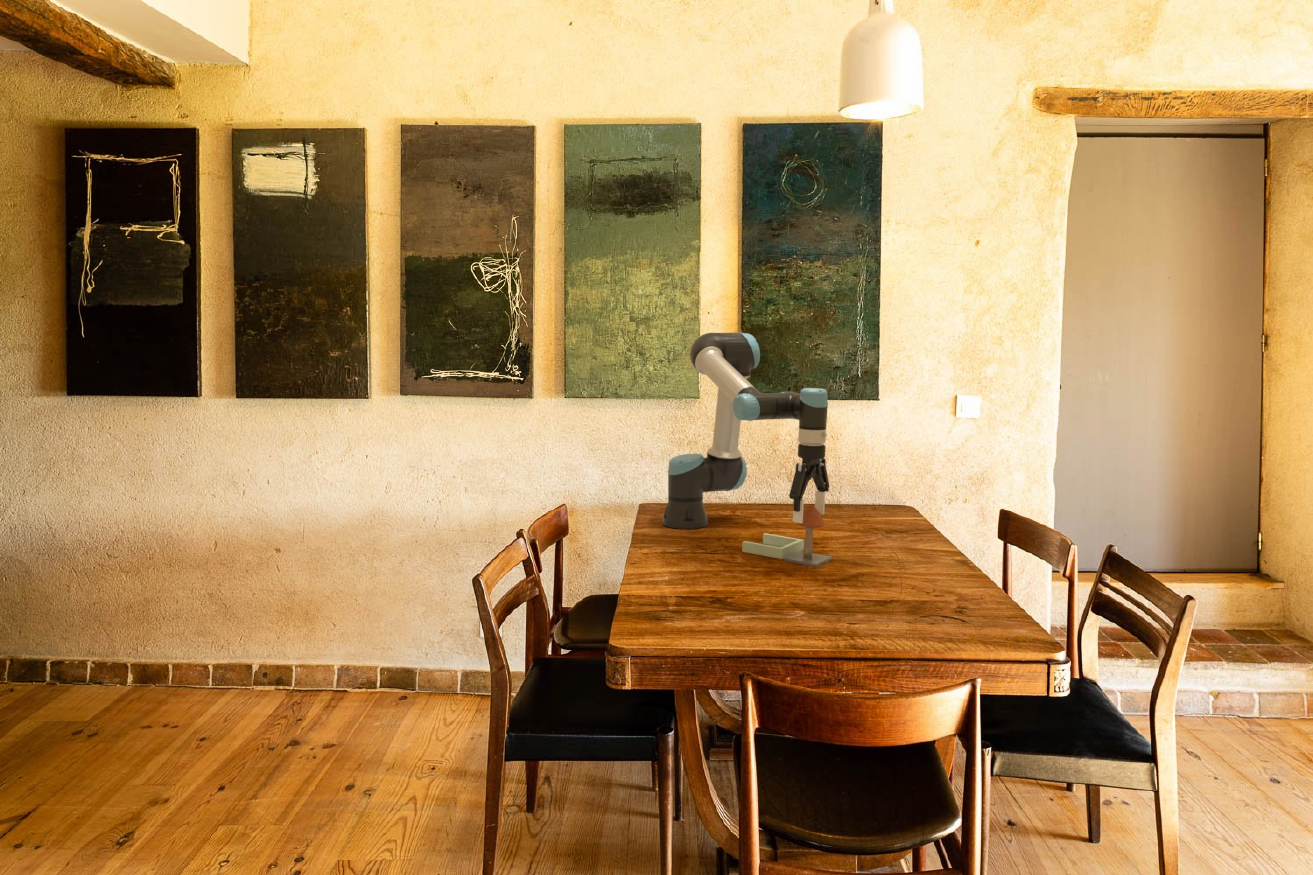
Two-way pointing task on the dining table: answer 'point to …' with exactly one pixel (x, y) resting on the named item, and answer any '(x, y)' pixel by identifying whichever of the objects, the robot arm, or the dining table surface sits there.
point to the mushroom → (810, 527)
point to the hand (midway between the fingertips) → (808, 518)
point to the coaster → (808, 559)
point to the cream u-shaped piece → (786, 546)
